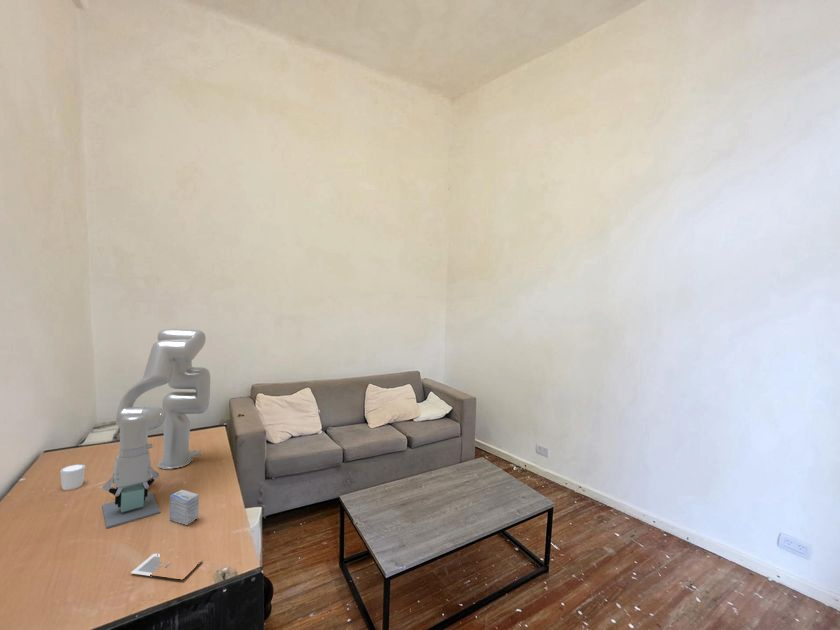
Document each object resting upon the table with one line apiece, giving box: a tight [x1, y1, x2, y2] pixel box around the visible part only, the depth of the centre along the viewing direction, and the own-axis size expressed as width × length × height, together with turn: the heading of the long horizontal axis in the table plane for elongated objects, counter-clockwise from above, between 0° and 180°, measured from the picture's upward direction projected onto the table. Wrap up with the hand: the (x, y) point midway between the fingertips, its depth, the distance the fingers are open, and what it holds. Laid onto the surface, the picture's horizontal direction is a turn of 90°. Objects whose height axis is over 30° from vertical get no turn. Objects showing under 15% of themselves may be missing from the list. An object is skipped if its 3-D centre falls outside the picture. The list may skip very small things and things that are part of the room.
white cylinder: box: [59, 463, 86, 491], centre depth 139 cm, size 7×7×7 cm
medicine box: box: [169, 489, 200, 526], centre depth 123 cm, size 8×4×9 cm, turn 71°
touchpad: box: [130, 553, 177, 577], centre depth 101 cm, size 8×15×2 cm, turn 85°
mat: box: [101, 492, 161, 530], centre depth 127 cm, size 14×16×1 cm
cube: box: [120, 483, 144, 512], centre depth 126 cm, size 6×6×6 cm
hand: (131, 501), depth 127 cm, fingers closed on cube, 5 cm apart
